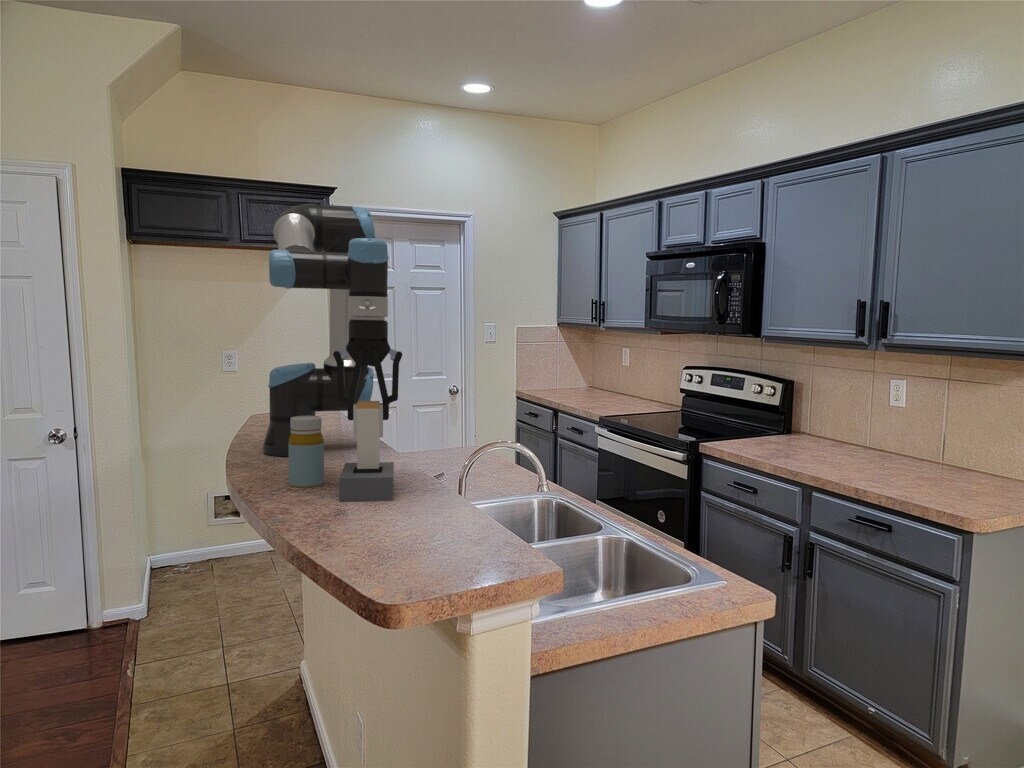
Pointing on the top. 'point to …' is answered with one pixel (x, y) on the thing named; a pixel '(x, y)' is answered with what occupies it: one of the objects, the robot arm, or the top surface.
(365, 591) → the top surface
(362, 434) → the plug
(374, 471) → the gray socket block
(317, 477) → the bottle
